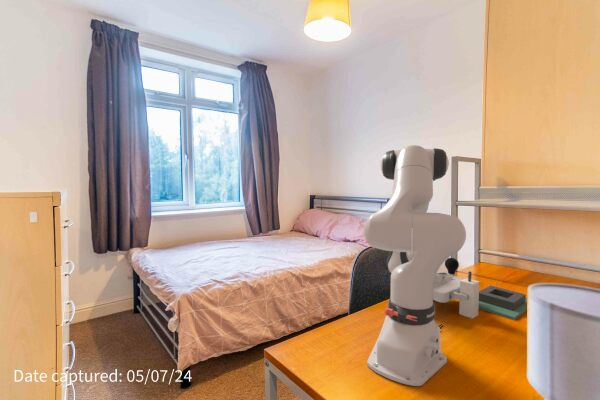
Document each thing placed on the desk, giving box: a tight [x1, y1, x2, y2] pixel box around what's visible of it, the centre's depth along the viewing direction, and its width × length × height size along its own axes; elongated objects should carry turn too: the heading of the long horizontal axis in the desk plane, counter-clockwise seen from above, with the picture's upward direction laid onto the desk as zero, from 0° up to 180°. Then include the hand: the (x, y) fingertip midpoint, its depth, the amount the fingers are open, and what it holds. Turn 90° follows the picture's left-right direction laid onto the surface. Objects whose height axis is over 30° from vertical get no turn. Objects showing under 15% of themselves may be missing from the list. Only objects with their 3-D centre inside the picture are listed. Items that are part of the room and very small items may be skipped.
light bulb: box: [444, 257, 460, 276], centre depth 142 cm, size 6×6×10 cm
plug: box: [458, 270, 480, 319], centre depth 106 cm, size 4×4×16 cm
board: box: [478, 285, 528, 321], centre depth 115 cm, size 22×16×4 cm
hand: (471, 295), depth 105 cm, fingers closed on plug, 4 cm apart
